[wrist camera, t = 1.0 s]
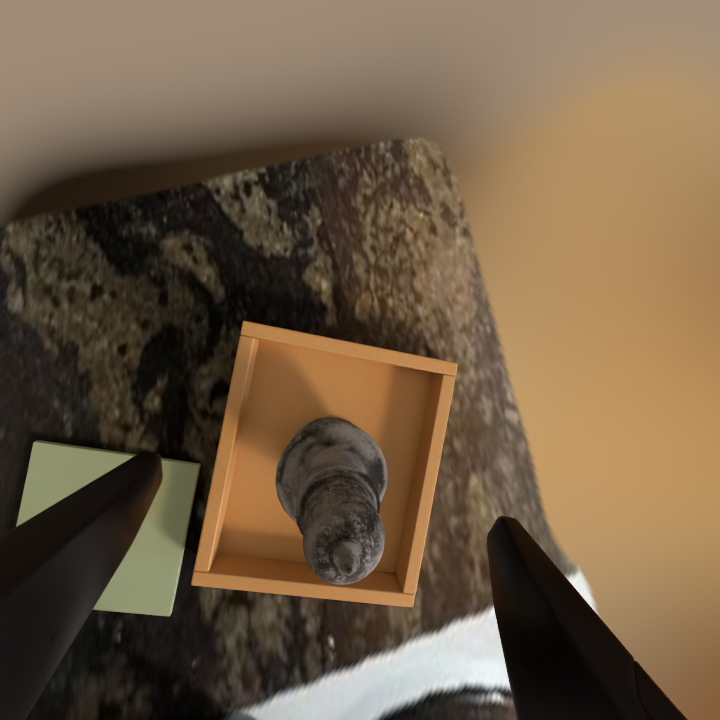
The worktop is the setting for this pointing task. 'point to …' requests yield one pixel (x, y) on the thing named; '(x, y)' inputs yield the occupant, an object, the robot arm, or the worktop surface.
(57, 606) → the robot arm
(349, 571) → the stone finial
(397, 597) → the tray
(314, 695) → the worktop surface
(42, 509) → the mat
